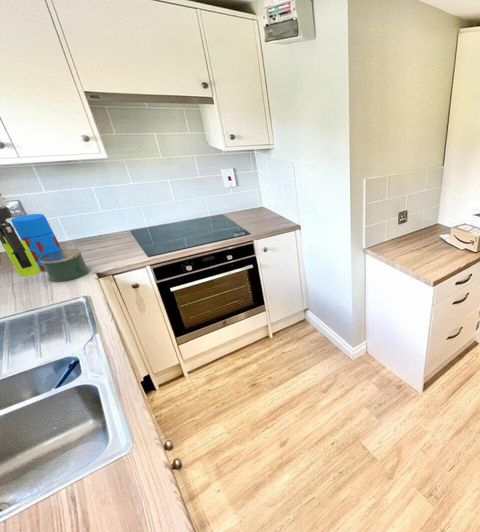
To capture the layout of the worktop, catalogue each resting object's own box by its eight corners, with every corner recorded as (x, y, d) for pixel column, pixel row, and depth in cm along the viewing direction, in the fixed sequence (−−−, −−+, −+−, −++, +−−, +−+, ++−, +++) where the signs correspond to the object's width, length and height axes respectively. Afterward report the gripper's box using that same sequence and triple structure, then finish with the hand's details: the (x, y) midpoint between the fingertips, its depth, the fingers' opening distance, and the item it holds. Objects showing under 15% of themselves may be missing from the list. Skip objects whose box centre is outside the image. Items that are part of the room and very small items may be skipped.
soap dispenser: (12, 276, 126) (-16, 228, 117) (35, 268, 132) (10, 222, 123) (21, 278, 125) (-7, 230, 116) (44, 271, 131) (19, 224, 122)
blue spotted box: (56, 260, 163) (31, 213, 152) (74, 262, 162) (50, 214, 151) (31, 270, 154) (3, 220, 142) (50, 272, 152) (23, 222, 141)
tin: (58, 284, 142) (46, 264, 138) (44, 277, 148) (33, 257, 143) (95, 272, 153) (86, 252, 148) (81, 265, 159) (72, 246, 154)
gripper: (17, 210, 116) (47, 267, 126) (-3, 202, 123) (27, 256, 134) (-14, 215, 110) (20, 274, 120) (-33, 206, 117) (0, 263, 128)
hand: (23, 265), depth 127 cm, fingers closed on soap dispenser, 6 cm apart
